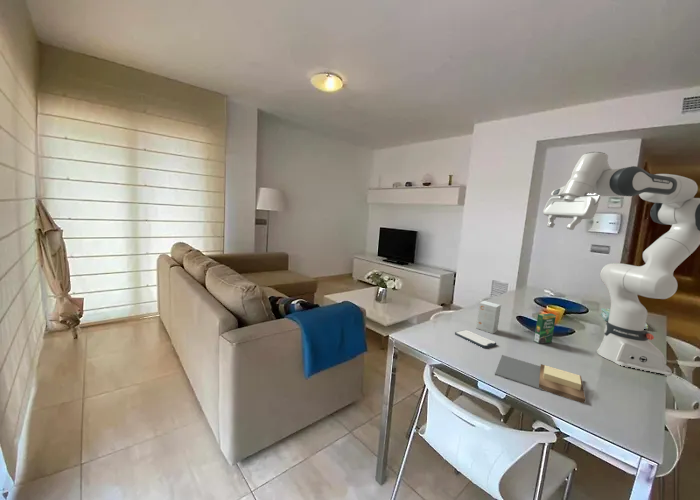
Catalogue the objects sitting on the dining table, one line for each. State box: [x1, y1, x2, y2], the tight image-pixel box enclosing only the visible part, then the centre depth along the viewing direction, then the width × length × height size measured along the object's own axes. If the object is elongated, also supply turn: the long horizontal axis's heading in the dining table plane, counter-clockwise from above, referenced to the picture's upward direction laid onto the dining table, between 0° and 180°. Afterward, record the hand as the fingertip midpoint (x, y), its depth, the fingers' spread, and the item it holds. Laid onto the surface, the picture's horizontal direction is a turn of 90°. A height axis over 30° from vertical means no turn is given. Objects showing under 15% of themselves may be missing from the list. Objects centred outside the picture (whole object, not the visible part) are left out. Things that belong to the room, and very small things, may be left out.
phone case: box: [454, 329, 497, 350], centre depth 135 cm, size 9×2×16 cm
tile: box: [543, 364, 581, 390], centre depth 103 cm, size 10×7×2 cm
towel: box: [600, 307, 649, 330], centre depth 179 cm, size 18×21×5 cm
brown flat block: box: [539, 364, 586, 404], centre depth 103 cm, size 12×17×2 cm
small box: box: [475, 300, 502, 334], centre depth 147 cm, size 8×6×13 cm
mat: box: [494, 354, 543, 391], centre depth 109 cm, size 14×18×1 cm
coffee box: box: [533, 312, 557, 345], centre depth 137 cm, size 8×3×13 cm, turn 107°
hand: (559, 228), depth 115 cm, fingers open, 8 cm apart
